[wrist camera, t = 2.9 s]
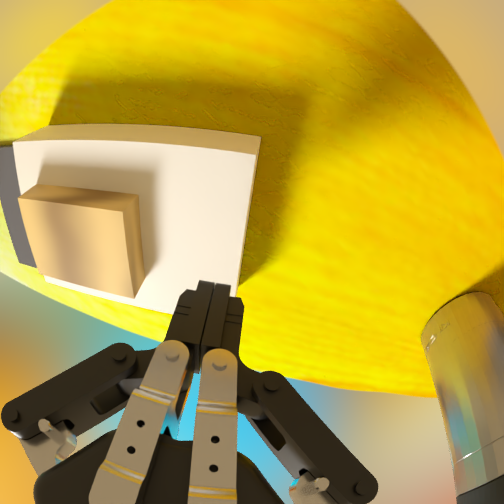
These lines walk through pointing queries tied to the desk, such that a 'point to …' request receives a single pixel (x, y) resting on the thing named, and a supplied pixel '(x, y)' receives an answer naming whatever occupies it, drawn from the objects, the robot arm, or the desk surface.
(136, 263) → the ochre tile
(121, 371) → the robot arm
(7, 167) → the dark grey mat
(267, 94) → the desk surface
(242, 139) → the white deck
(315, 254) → the desk surface
